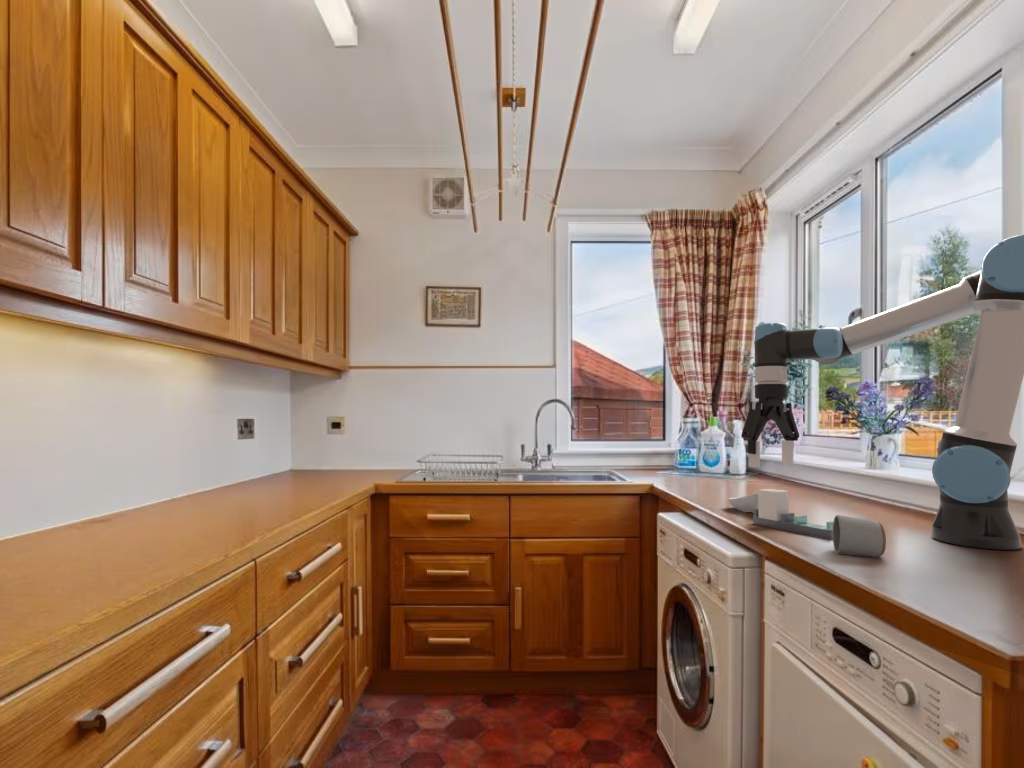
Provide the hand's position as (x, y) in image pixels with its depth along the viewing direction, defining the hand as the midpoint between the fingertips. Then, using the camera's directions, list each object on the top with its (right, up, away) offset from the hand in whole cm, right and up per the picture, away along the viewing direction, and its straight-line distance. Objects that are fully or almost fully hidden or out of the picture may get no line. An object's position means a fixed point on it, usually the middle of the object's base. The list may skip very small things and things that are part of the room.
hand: (771, 466), depth 136 cm
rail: (+3, -15, -6) cm, 16 cm away
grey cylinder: (+4, -14, -27) cm, 31 cm away
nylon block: (0, -13, -1) cm, 13 cm away
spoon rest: (+4, -17, +15) cm, 23 cm away
